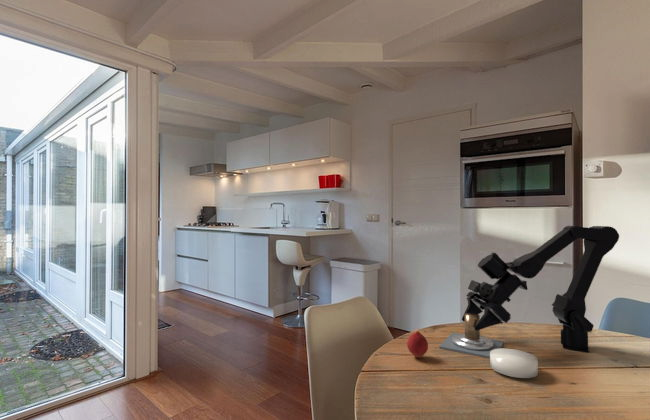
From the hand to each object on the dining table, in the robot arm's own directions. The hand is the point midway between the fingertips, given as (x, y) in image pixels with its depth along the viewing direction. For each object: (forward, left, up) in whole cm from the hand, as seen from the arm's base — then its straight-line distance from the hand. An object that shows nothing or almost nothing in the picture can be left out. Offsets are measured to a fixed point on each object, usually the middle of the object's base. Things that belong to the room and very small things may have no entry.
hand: (468, 324), depth 110 cm
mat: (-1, -1, -6) cm, 7 cm away
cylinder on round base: (-1, -1, -6) cm, 6 cm away
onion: (+10, +18, -7) cm, 22 cm away
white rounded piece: (-14, +13, -6) cm, 20 cm away
